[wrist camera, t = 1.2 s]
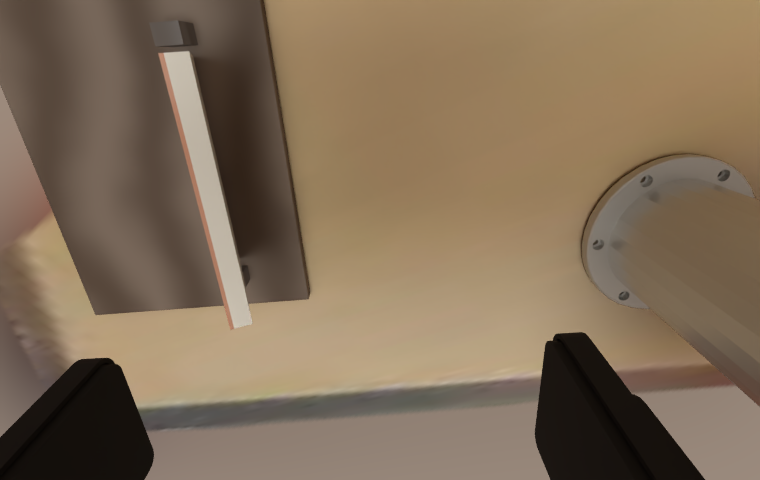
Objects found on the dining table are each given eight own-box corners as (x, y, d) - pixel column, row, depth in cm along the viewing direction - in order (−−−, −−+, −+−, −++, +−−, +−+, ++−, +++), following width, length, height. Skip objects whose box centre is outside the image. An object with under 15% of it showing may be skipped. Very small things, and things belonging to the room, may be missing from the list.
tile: (188, 51, 18) (158, 52, 17) (252, 323, 23) (230, 329, 23) (193, 56, 26) (172, 58, 25) (239, 258, 31) (223, 262, 31)
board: (259, -23, 25) (245, -33, 22) (310, 292, 34) (304, 314, 31) (-21, -1, 25) (-73, -8, 22) (102, 308, 34) (78, 331, 31)
